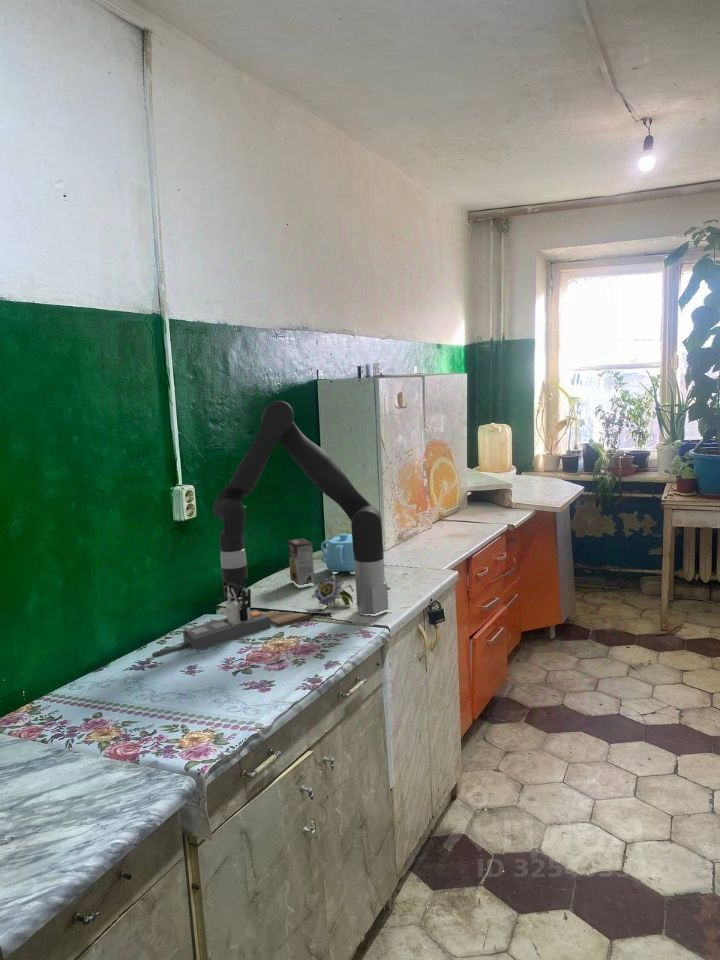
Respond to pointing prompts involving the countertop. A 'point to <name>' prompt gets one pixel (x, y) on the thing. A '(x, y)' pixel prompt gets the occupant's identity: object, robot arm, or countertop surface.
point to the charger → (234, 613)
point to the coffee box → (301, 561)
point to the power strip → (220, 632)
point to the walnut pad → (285, 617)
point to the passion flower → (332, 592)
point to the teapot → (339, 553)
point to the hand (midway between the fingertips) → (239, 617)
